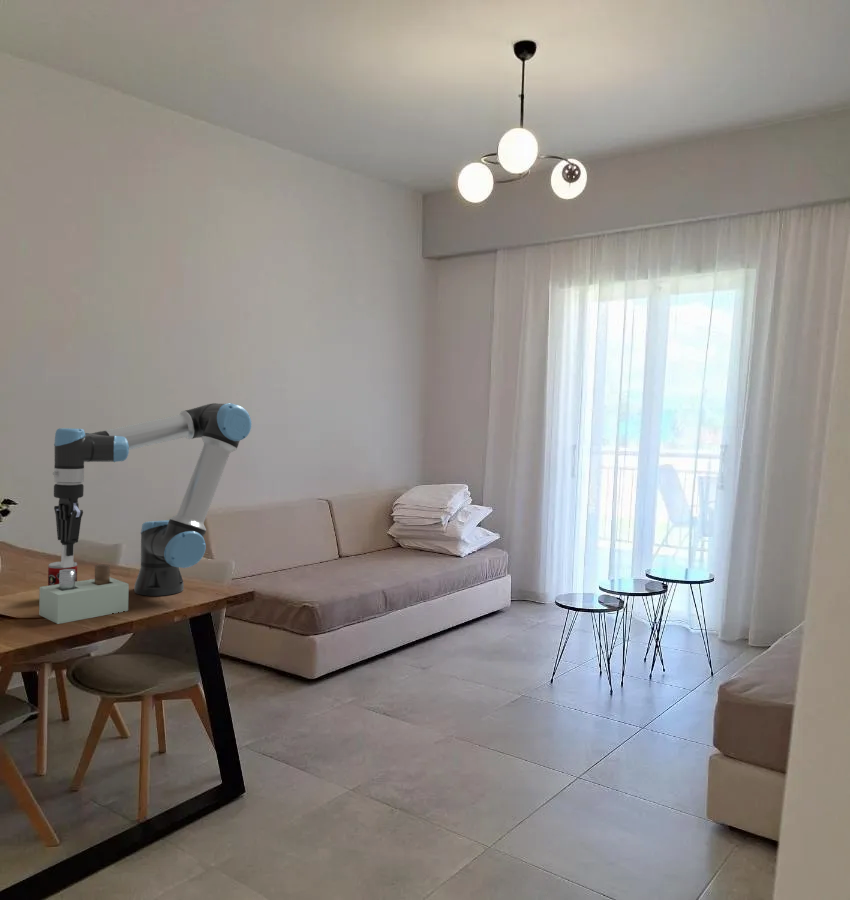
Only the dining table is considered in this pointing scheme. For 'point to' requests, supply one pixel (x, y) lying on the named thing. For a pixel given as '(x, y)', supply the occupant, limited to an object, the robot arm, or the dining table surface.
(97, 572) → the walnut peg
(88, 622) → the dining table surface
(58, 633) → the dining table surface
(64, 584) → the metal peg
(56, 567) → the canned food
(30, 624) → the dining table surface
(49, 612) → the socket board
